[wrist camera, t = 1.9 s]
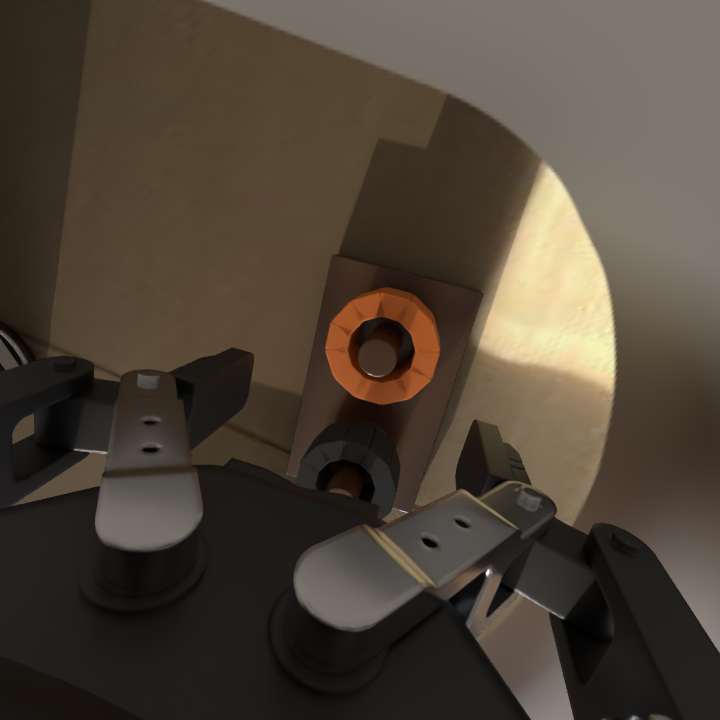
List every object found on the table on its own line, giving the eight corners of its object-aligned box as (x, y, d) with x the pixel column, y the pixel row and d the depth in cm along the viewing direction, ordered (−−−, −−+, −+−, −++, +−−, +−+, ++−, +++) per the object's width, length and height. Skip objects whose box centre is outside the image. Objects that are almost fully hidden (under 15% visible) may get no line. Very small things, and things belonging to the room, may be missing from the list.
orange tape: (329, 371, 26) (316, 386, 23) (350, 277, 24) (339, 280, 21) (422, 398, 25) (420, 416, 22) (451, 303, 23) (453, 310, 21)
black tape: (303, 486, 29) (288, 512, 26) (320, 409, 27) (307, 428, 24) (386, 513, 28) (381, 542, 25) (410, 436, 26) (407, 459, 23)
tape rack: (292, 463, 32) (248, 532, 25) (337, 254, 27) (298, 255, 20) (412, 501, 31) (404, 585, 24) (480, 290, 26) (501, 307, 19)
